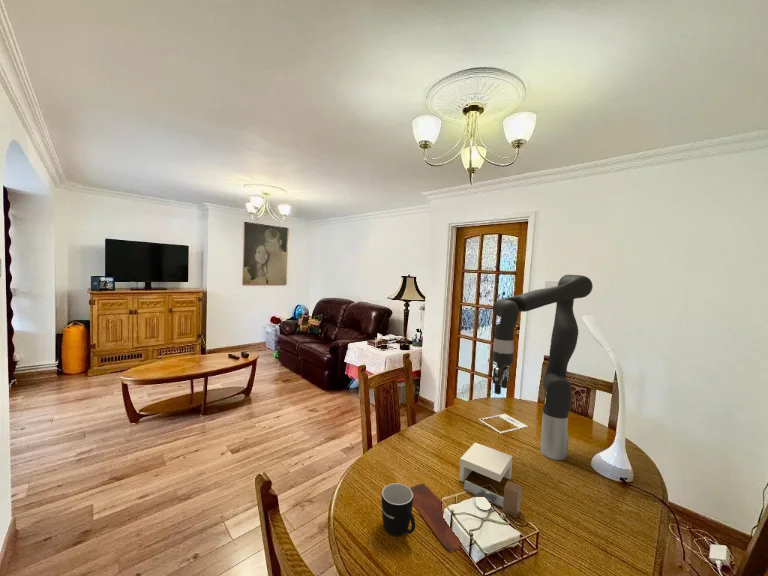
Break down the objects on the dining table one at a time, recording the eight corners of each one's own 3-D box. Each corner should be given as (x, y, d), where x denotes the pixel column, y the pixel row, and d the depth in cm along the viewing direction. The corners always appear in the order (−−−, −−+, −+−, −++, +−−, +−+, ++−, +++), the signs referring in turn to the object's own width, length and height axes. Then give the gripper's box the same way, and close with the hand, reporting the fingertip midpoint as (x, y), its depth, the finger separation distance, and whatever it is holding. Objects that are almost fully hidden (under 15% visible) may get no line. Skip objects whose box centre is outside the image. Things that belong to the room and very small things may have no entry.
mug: (374, 523, 91) (375, 490, 91) (398, 511, 97) (399, 479, 96) (400, 554, 82) (401, 516, 81) (425, 538, 87) (427, 503, 86)
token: (476, 497, 104) (477, 490, 104) (492, 503, 102) (493, 495, 102) (473, 507, 100) (474, 499, 100) (490, 513, 97) (490, 505, 97)
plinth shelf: (511, 477, 115) (512, 456, 115) (498, 498, 104) (500, 474, 104) (474, 462, 124) (475, 442, 123) (459, 480, 112) (460, 458, 112)
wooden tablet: (478, 544, 87) (478, 538, 86) (448, 556, 82) (449, 550, 82) (426, 483, 111) (426, 479, 111) (400, 491, 106) (401, 486, 106)
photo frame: (527, 425, 155) (500, 432, 147) (527, 428, 155) (500, 434, 147) (504, 413, 168) (478, 418, 160) (504, 415, 168) (478, 420, 161)
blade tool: (519, 510, 99) (521, 486, 98) (516, 518, 96) (517, 492, 95) (466, 486, 109) (468, 463, 109) (462, 492, 106) (463, 469, 106)
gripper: (499, 345, 132) (497, 383, 133) (487, 351, 121) (485, 393, 121) (518, 349, 127) (515, 388, 128) (507, 355, 116) (505, 398, 117)
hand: (500, 390), depth 125 cm, fingers open, 8 cm apart
